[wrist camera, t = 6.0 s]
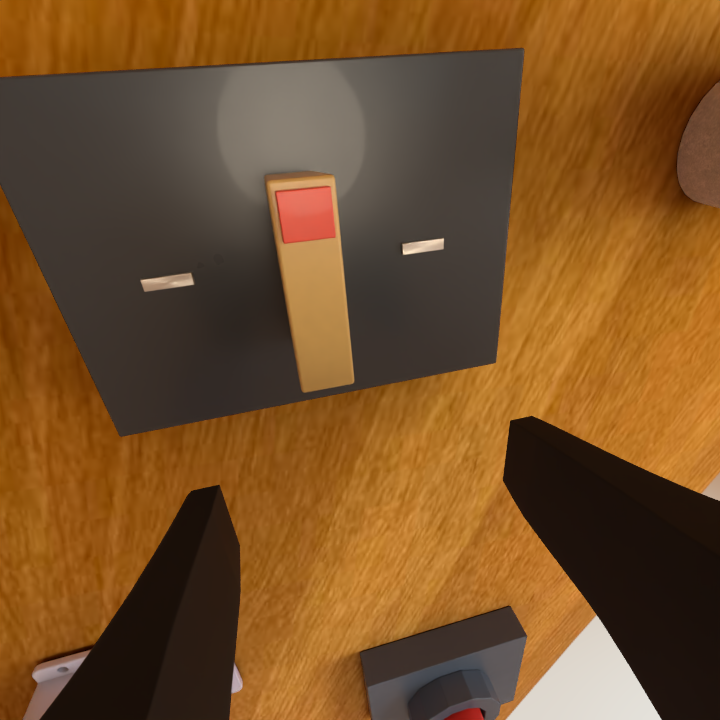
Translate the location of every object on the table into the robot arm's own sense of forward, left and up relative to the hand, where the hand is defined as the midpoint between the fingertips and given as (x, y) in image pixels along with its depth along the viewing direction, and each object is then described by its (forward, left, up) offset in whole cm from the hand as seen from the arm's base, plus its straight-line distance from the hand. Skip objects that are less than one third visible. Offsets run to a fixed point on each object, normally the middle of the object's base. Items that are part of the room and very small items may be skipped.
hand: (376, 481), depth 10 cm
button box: (+5, -30, -8) cm, 31 cm away
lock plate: (-1, +4, -8) cm, 9 cm away
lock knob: (-1, +4, -5) cm, 7 cm away
